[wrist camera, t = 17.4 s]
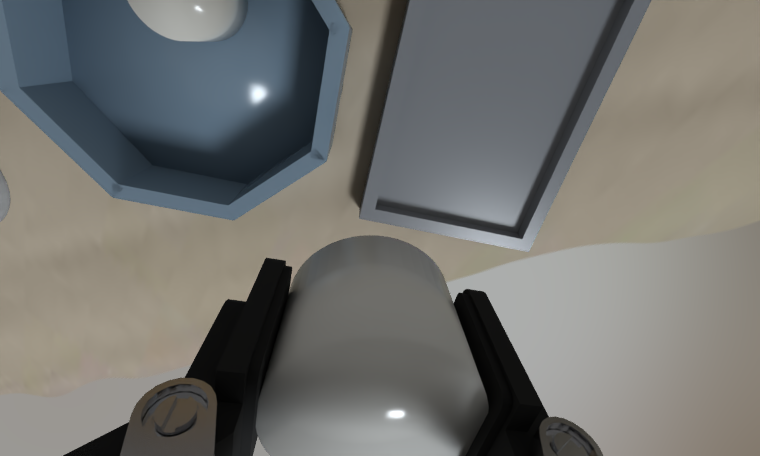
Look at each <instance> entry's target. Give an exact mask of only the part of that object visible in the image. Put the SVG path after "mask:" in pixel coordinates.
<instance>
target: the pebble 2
mask: <svg viewBox="0 0 760 456" xmlns="http://www.w3.org/2000/svg"><path fill="white" fill-rule="evenodd" d="M488 409H489V405H488V399H487V395H486V392H485V389H484V387H483V384H482V381H481V378H480V375H479V373H478V370H477V367H476V364H475V362H474V359H473V356H472V353H471V351H470V348H469V345H468V342H467V340H466V337H465V334H464V331H463V328H462V326H461V323H460V320H459V317H458V315H457V312H456V309H455V306H454V304H453V301H452V298H451V295H450V293H449V290H448V287H447V284H446V282H445V279H444V276H443V274H442V272H441V271H440V269H439V267H438V266H437V265H436V264H435V262H434V261H433V260H432V259H431V258H430V257H429V256H428V255H427V254H425V253H424V252H423V251H421V250H420V249H418V248H417V247H415V246H413V245H411V244H409V243H407V242H404V241H401V240H398V239H394V238H390V237H384V236H357V237H351V238H347V239H342V240H339V241H337V242H334V243H331V244H329V245H327V246H326V247H324V248H322V249H320V250H319V251H317V252H316V253H314V254H313V255H312V256H311V257H310V258H309V259H308V260H306V261H305V263H304V264H303V265H302V266H301V267H300V269H299V270H298V272H297V274H296V275H295V277H294V279H293V282H292V284H291V287H290V291H289V295H288V299H287V302H286V306H285V309H284V312H283V316H282V319H281V323H280V326H279V330H278V333H277V337H276V340H275V344H274V347H273V351H272V354H271V358H270V361H269V364H268V368H267V371H266V375H265V378H264V382H263V385H262V389H261V392H260V396H259V399H258V408H257V418H256V431H257V435H258V437H259V439H260V442H261V444H262V445H263V447H264V448H265V450H266V451H267V452H268V453H269V455H270V456H465V455H466V454H467V452H468V450H469V448H470V446H471V444H472V442H473V441H474V439H475V437H476V435H477V433H478V431H479V429H480V427H481V425H482V424H483V422H484V420H485V418H486V416H487V414H488Z"/></svg>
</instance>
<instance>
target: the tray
mask: <svg viewBox="0 0 760 456" xmlns="http://www.w3.org/2000/svg"><path fill="white" fill-rule="evenodd" d="M650 2H651V0H407V5H406V9H405V14H404V18H403V22H402V27H401V31H400V35H399V40H398V44H397V48H396V53H395V57H394V61H393V66H392V70H391V75H390V79H389V83H388V88H387V92H386V96H385V101H384V105H383V109H382V114H381V118H380V122H379V127H378V131H377V136H376V140H375V144H374V149H373V153H372V157H371V162H370V166H369V170H368V175H367V179H366V184H365V188H364V192H363V197H362V201H361V205H360V213H359V219H364V220H369V221H374V222H380V223H385V224H390V225H395V226H400V227H405V228H410V229H415V230H420V231H425V232H430V233H435V234H440V235H445V236H450V237H455V238H460V239H465V240H471V241H476V242H481V243H486V244H491V245H496V246H501V247H506V248H511V249H516V250H521V251H526V252H529V250H530V248H531V246H532V244H533V242H534V240H535V238H536V236H537V234H538V232H539V230H540V228H541V226H542V224H543V222H544V220H545V217H546V215H547V213H548V211H549V209H550V207H551V205H552V203H553V201H554V199H555V197H556V195H557V193H558V191H559V189H560V187H561V185H562V183H563V181H564V179H565V176H566V174H567V172H568V170H569V168H570V166H571V164H572V162H573V160H574V158H575V156H576V154H577V152H578V150H579V148H580V146H581V144H582V142H583V140H584V137H585V135H586V133H587V131H588V129H589V127H590V125H591V123H592V121H593V119H594V117H595V115H596V113H597V111H598V109H599V107H600V105H601V103H602V101H603V98H604V96H605V94H606V92H607V90H608V88H609V86H610V84H611V82H612V80H613V78H614V76H615V74H616V72H617V70H618V68H619V66H620V64H621V62H622V60H623V57H624V55H625V53H626V51H627V49H628V47H629V45H630V43H631V41H632V39H633V37H634V35H635V33H636V31H637V29H638V27H639V25H640V23H641V21H642V18H643V16H644V14H645V12H646V10H647V8H648V6H649V4H650Z"/></svg>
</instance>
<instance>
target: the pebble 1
mask: <svg viewBox="0 0 760 456" xmlns="http://www.w3.org/2000/svg"><path fill="white" fill-rule="evenodd" d="M127 1H128V3H129V4H130V6H131V8H132V9H133V11H134V12H135V13H136V15H137V16H138V17H139V18H140V19H141V20H142V21H143V22H144V23H145V24H146V25H147V26H148V27H149V28H151V29H152V30H153V31H155V32H156V33H158V34H160V35H162V36H164V37H166V38H169V39H172V40H177V41H197V42H218V41H223V40H226V39H228V38H230V37H232V36H233V35H235V34H236V33H237V32H238V31H239V29H240V28H241V27H242V25H243V23H244V21H245V18H246V15H247V10H248V0H127Z"/></svg>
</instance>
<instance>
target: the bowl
mask: <svg viewBox="0 0 760 456" xmlns="http://www.w3.org/2000/svg"><path fill="white" fill-rule="evenodd" d="M351 35H352V28H351V26H350V24H349V22H348V21H347V19H346V17H345V15H344V14H343V12H342V10H341V8H340V7H339V5H338V3H337V1H336V0H248V10H247V15H246V18H245V21H244V23H243V25H242V27H241V28H240V29H239V31H238V32H237V33H236V34H235V35H233V36H232V37H230V38H228V39H226V40H223V41H218V42H197V41H177V40H172V39H169V38H166V37H164V36H162V35H160V34H158V33H156V32H155V31H153V30H152V29H151V28H149V27H148V26H147V25H146V24H145V23H144V22H143V21H142V20H141V19H140V18H139V17H138V16H137V15H136V13H135V12H134V11H133V9H132V8H131V6H130V4H129V3H128V1H127V0H0V90H1V92H2V93H3V94H4V95H5V96H6V97H7V98H8V99H10V100H11V101H12V102H13V103H14V104H15V105H16V106H17V107H18V108H19V109H20V110H21V111H22V112H23V113H24V114H25V115H26V116H27V117H28V118H29V119H31V120H32V121H33V122H34V123H35V124H36V125H37V126H38V127H39V128H40V129H41V130H42V131H43V132H44V133H45V134H46V135H47V136H48V137H49V138H51V139H52V140H53V141H54V142H55V143H56V144H57V145H58V146H59V147H60V148H61V149H62V150H63V151H64V152H65V153H66V154H67V155H68V156H69V157H71V158H72V159H73V160H74V161H75V162H76V163H77V164H78V165H79V166H80V167H81V168H82V169H83V170H84V171H85V172H86V173H87V174H88V175H89V176H90V177H92V178H93V179H94V180H95V181H96V182H97V183H98V184H99V185H100V186H101V187H102V188H103V189H104V190H105V191H106V192H107V193H108V194H109V195H110V196H112V197H113V198H117V199H123V200H128V201H133V202H139V203H144V204H149V205H155V206H160V207H165V208H171V209H176V210H181V211H186V212H192V213H197V214H202V215H208V216H213V217H218V218H224V219H229V220H235V219H237V218H238V217H240V216H242V215H243V214H245V213H246V212H248V211H249V210H251V209H253V208H254V207H256V206H257V205H259V204H260V203H262V202H264V201H265V200H267V199H268V198H270V197H271V196H273V195H275V194H276V193H278V192H279V191H281V190H282V189H284V188H286V187H287V186H289V185H290V184H292V183H293V182H295V181H297V180H298V179H300V178H301V177H303V176H304V175H306V174H308V173H309V172H311V171H312V170H314V169H315V168H317V167H319V166H320V165H322V164H323V163H325V162H326V161H327V158H328V155H329V152H330V150H331V147H332V143H333V137H334V131H335V126H336V120H337V114H338V109H339V103H340V97H341V93H342V88H343V80H344V75H345V69H346V63H347V58H348V52H349V46H350V41H351Z"/></svg>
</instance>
